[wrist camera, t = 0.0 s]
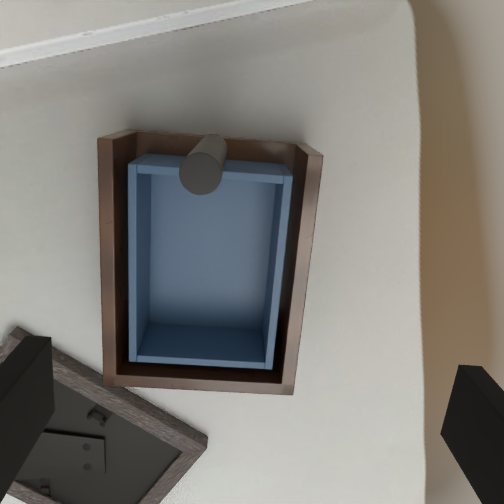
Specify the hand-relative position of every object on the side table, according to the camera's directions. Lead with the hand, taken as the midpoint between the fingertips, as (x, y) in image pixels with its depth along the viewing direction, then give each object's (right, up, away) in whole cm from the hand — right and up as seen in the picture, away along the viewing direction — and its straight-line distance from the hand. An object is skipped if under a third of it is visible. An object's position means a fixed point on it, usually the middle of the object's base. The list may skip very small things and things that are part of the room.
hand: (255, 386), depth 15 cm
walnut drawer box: (-4, +5, +25) cm, 26 cm away
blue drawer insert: (-4, +6, +23) cm, 24 cm away
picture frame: (-18, -14, +31) cm, 39 cm away
